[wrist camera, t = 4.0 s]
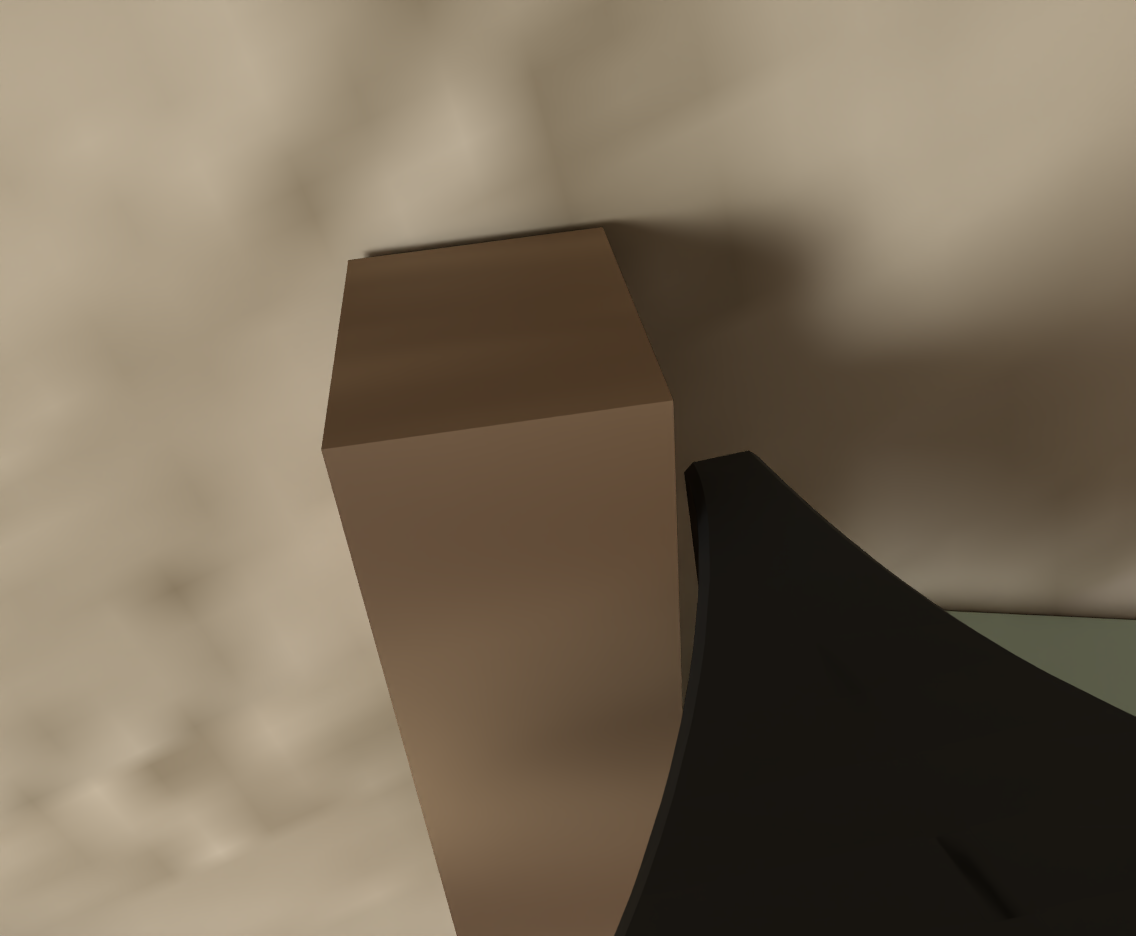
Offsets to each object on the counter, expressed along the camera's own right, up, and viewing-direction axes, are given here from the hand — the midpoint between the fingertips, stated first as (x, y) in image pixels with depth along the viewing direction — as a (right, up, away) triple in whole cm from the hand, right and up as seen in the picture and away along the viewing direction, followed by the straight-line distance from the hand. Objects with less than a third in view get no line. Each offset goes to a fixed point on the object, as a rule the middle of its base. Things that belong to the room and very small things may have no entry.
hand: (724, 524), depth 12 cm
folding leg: (-2, -3, +5) cm, 6 cm away
